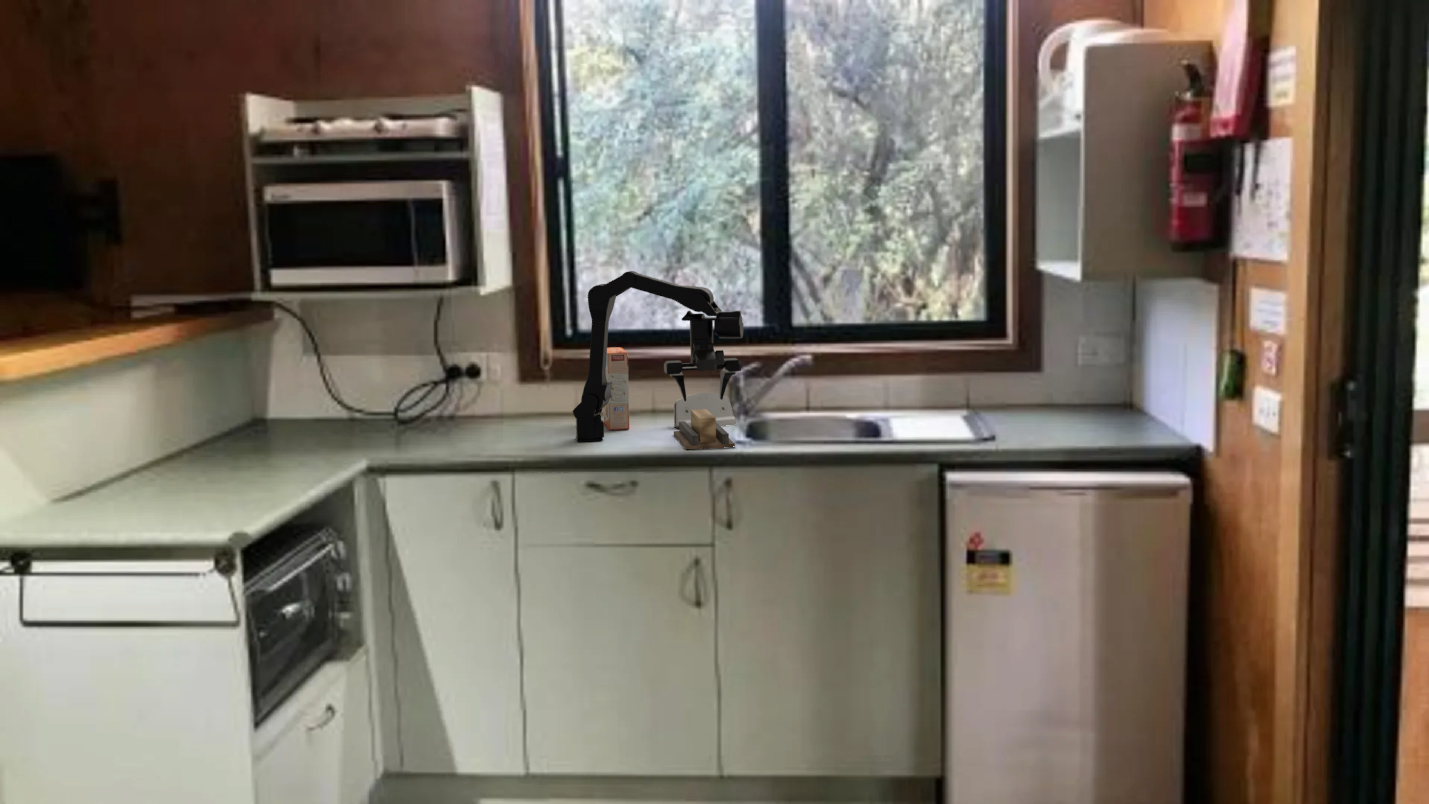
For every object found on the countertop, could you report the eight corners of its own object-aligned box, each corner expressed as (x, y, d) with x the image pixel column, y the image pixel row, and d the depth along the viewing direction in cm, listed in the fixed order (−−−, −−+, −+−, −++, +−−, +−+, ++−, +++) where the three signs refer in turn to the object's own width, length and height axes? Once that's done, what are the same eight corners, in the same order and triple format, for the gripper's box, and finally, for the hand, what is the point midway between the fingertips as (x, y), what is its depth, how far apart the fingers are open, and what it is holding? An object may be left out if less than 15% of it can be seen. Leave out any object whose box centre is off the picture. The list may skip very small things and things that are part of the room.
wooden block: (700, 442, 328) (699, 418, 328) (691, 433, 342) (690, 409, 341) (716, 441, 329) (715, 417, 328) (706, 432, 343) (706, 409, 342)
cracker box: (631, 429, 355) (628, 351, 351) (608, 431, 353) (605, 352, 350) (624, 421, 368) (622, 346, 365) (603, 422, 367) (600, 347, 364)
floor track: (686, 450, 324) (686, 436, 323) (673, 434, 345) (673, 421, 345) (735, 447, 326) (734, 433, 325) (719, 432, 347) (719, 419, 347)
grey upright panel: (679, 430, 353) (674, 393, 354) (674, 433, 357) (669, 397, 359) (738, 425, 359) (732, 389, 360) (731, 428, 363) (726, 392, 365)
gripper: (669, 343, 322) (670, 406, 325) (744, 340, 325) (745, 403, 328) (662, 338, 333) (664, 400, 336) (736, 335, 336) (737, 396, 339)
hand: (703, 400), depth 334 cm, fingers open, 9 cm apart
